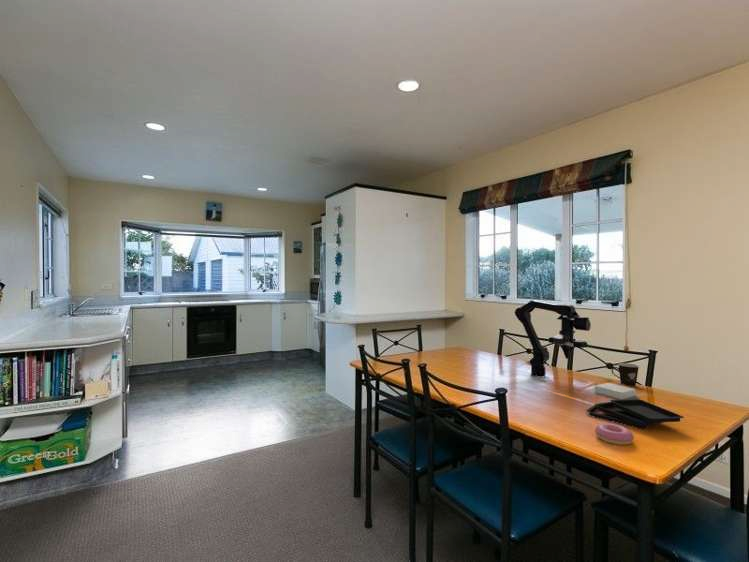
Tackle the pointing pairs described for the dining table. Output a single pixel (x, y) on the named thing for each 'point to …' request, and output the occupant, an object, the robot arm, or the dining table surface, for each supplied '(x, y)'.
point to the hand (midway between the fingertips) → (567, 358)
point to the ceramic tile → (615, 390)
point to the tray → (634, 413)
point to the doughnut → (614, 434)
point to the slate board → (609, 396)
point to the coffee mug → (627, 373)
